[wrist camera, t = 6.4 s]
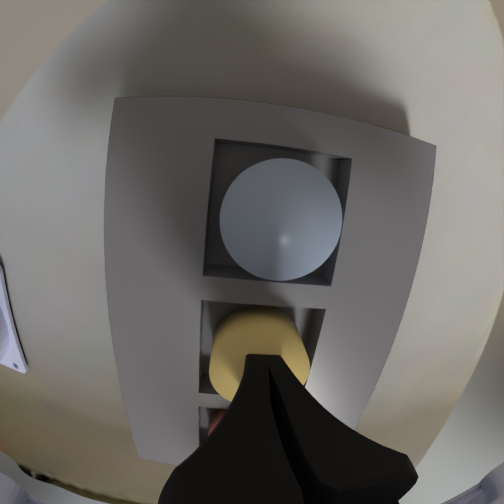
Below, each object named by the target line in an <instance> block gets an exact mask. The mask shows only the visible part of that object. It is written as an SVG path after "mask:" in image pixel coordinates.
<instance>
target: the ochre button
mask: <svg viewBox="0 0 504 504" xmlns="http://www.w3.org/2000/svg"><path fill="white" fill-rule="evenodd" d="M248 354H267V355H280V356H281V357H282V358H283V359H284V361H285V362H286V364H287V365H288V367H289V368H290V369H291V371H292V372H293V373H294V375H295V376H296V377H297V378H298V380H299V381H300V382H301V383H302V385H304V384H305V382H306V380H307V378H308V375H309V371H310V363H309V358H308V355H307V353H306V350H305V347H304V345H303V342H302V339H301V337H300V334H299V332H298V329H297V327H296V325H295V323H294V322H293V320H292V319H291V318H290V317H289V316H288V315H286V314H285V313H284V312H282V311H280V310H278V309H275V308H272V307H268V306H248V307H243V308H240V309H238V310H236V311H233V312H232V313H230V314H228V315H227V316H226V317H225V318H223V320H222V321H221V322H220V323H219V324H218V326H217V327H216V329H215V332H214V335H213V341H212V349H211V358H210V367H209V377H210V381H211V383H212V385H213V387H214V389H215V390H216V391H217V392H218V393H219V394H220V395H221V396H222V397H223V398H225V399H226V400H228V401H230V402H232V400H233V398H234V396H235V394H236V392H237V389H238V387H239V385H240V382H241V379H242V376H243V372H244V365H245V357H246V355H248Z"/></svg>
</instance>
